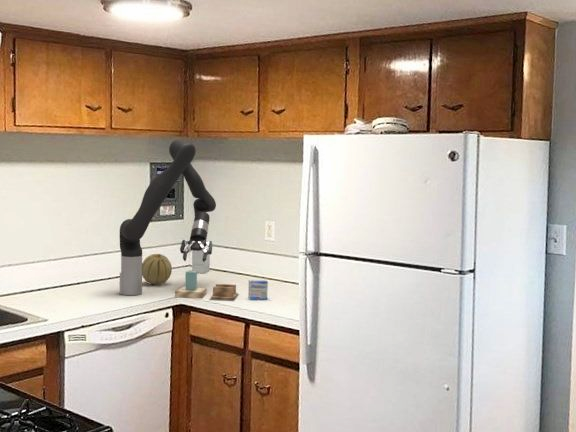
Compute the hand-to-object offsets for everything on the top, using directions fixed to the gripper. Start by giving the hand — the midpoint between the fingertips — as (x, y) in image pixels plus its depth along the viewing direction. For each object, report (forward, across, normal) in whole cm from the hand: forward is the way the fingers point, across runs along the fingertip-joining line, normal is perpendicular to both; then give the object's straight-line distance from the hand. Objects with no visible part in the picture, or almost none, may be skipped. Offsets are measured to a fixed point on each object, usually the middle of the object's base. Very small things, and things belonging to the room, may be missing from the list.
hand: (194, 260), depth 343 cm
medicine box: (+16, +30, +6) cm, 34 cm away
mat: (+15, +15, +7) cm, 22 cm away
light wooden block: (+15, 0, +7) cm, 16 cm away
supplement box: (-29, -8, +51) cm, 59 cm away
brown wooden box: (+15, +15, +6) cm, 22 cm away
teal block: (+13, 0, +4) cm, 14 cm away
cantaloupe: (-2, -22, +24) cm, 32 cm away
